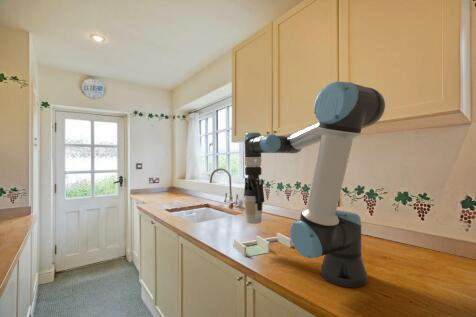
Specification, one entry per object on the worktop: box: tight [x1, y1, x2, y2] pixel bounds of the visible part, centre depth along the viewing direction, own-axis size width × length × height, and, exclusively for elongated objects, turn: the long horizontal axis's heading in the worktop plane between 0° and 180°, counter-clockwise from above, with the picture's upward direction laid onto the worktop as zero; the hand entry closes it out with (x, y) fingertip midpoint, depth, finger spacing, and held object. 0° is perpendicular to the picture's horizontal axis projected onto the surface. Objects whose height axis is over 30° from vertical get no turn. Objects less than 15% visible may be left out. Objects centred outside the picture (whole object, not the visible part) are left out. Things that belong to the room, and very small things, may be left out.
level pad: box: [245, 244, 270, 257], centre depth 110 cm, size 10×10×1 cm
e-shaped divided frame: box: [232, 232, 293, 257], centre depth 115 cm, size 13×25×4 cm, turn 114°
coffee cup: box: [243, 189, 264, 225], centre depth 110 cm, size 9×9×15 cm
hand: (253, 215), depth 110 cm, fingers closed on coffee cup, 8 cm apart
